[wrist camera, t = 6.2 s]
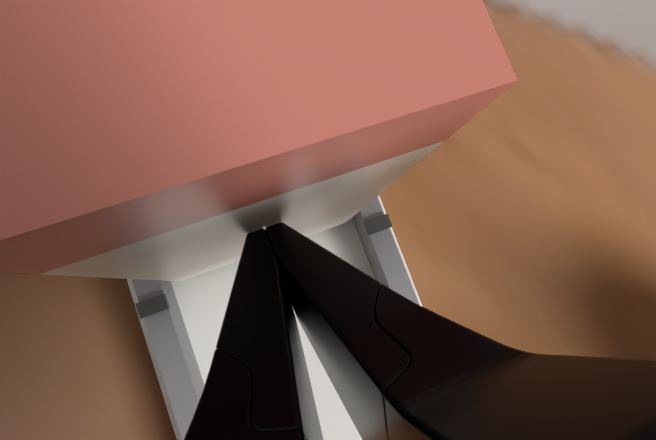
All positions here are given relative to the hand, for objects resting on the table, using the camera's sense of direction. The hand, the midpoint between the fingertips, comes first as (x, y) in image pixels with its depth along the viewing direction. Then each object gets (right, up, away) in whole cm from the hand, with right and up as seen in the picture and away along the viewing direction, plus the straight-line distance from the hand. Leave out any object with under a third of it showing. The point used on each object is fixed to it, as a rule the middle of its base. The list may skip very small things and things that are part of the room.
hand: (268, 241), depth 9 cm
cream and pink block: (-2, +1, +6) cm, 6 cm away
